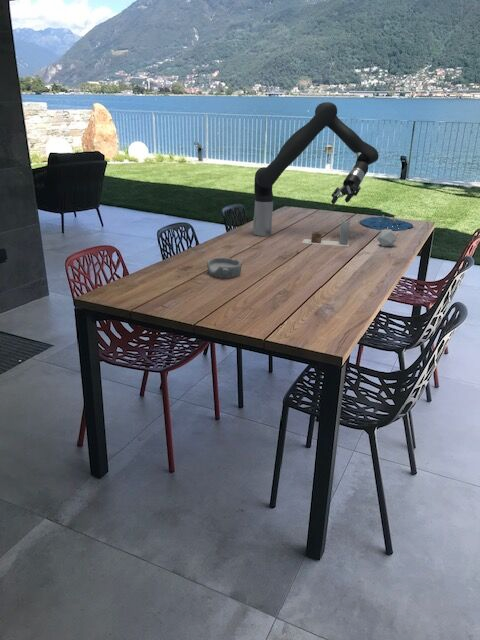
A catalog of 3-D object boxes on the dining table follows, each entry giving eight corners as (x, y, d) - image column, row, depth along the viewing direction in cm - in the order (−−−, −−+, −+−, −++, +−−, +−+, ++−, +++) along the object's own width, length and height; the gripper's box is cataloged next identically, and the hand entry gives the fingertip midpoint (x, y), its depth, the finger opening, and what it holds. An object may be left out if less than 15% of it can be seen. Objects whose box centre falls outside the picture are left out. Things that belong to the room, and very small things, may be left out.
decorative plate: (419, 234, 292) (421, 225, 290) (365, 232, 292) (366, 222, 290) (405, 221, 319) (406, 212, 317) (355, 218, 319) (356, 210, 317)
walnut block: (311, 242, 256) (311, 233, 254) (311, 240, 260) (312, 231, 258) (320, 243, 255) (321, 234, 253) (321, 241, 259) (321, 232, 257)
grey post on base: (301, 244, 255) (303, 219, 250) (303, 240, 262) (305, 216, 258) (348, 248, 251) (351, 223, 247) (348, 244, 259) (351, 219, 254)
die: (393, 250, 255) (402, 232, 256) (378, 241, 254) (388, 223, 254) (385, 251, 263) (394, 235, 264) (371, 243, 262) (380, 226, 262)
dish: (229, 281, 203) (229, 269, 201) (199, 274, 209) (199, 262, 207) (248, 272, 214) (249, 260, 212) (220, 266, 221) (220, 254, 219)
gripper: (339, 175, 265) (324, 198, 259) (362, 171, 254) (347, 194, 248) (346, 187, 269) (331, 209, 263) (369, 183, 258) (354, 206, 252)
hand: (339, 202), depth 256 cm, fingers open, 8 cm apart
